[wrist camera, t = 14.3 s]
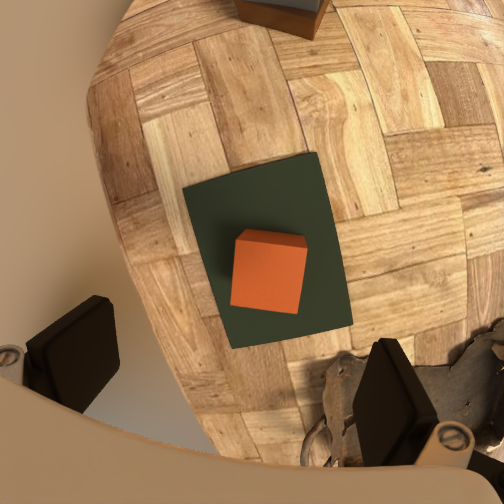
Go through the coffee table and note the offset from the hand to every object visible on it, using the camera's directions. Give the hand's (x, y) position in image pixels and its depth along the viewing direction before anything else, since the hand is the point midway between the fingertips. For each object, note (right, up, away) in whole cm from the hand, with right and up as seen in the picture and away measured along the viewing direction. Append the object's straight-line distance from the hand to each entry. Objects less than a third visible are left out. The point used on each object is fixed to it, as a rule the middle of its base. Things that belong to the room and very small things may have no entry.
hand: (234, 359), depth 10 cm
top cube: (+2, +3, +16) cm, 17 cm away
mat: (+2, +3, +17) cm, 18 cm away
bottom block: (+4, +27, +11) cm, 30 cm away
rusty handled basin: (+20, -15, +19) cm, 32 cm away
